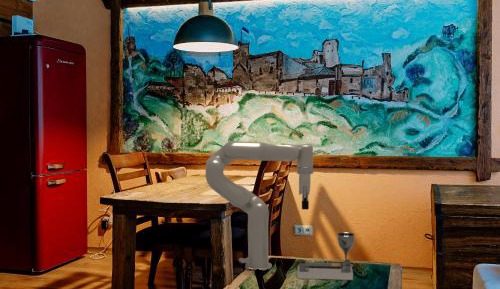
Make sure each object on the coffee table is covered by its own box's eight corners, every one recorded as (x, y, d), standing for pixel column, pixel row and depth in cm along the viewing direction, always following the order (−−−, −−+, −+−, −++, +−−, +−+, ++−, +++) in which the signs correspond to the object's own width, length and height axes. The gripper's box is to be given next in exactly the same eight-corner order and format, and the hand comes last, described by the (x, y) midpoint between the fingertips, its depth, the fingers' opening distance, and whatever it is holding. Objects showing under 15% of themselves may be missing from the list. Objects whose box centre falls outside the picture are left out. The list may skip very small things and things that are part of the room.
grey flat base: (297, 278, 241) (297, 262, 240) (298, 272, 251) (298, 256, 250) (353, 280, 238) (352, 264, 237) (351, 273, 248) (351, 258, 247)
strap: (302, 268, 243) (302, 265, 243) (302, 265, 248) (302, 262, 248) (343, 268, 240) (343, 266, 240) (342, 265, 245) (342, 263, 245)
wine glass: (355, 267, 257) (355, 235, 256) (338, 267, 257) (338, 236, 256) (352, 263, 265) (352, 232, 264) (336, 263, 265) (336, 232, 264)
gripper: (297, 168, 267) (297, 206, 268) (296, 172, 252) (296, 211, 253) (313, 169, 266) (313, 206, 267) (312, 172, 251) (313, 212, 252)
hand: (305, 209), depth 260 cm, fingers closed
